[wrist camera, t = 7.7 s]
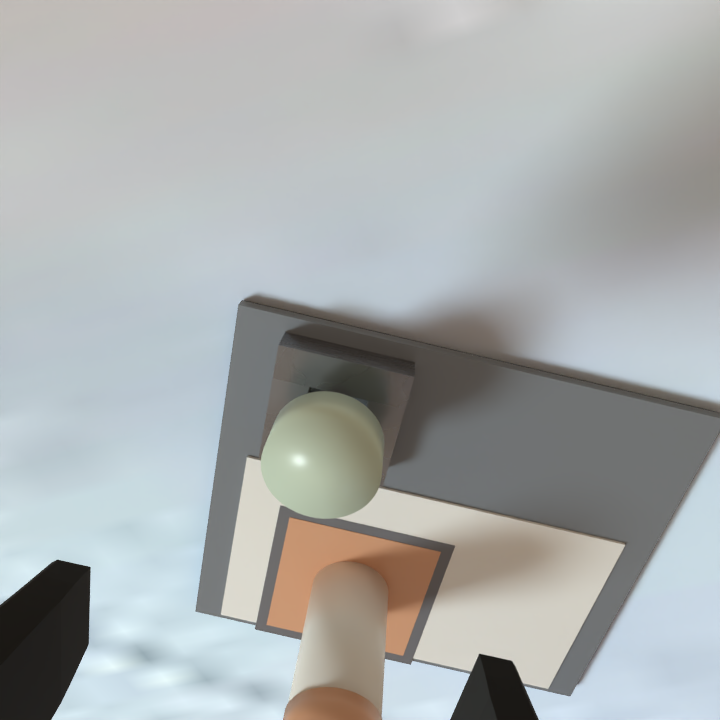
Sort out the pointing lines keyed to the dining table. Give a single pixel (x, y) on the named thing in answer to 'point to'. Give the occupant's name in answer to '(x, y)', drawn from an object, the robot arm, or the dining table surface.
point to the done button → (324, 455)
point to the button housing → (341, 382)
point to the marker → (342, 647)
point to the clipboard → (459, 506)
